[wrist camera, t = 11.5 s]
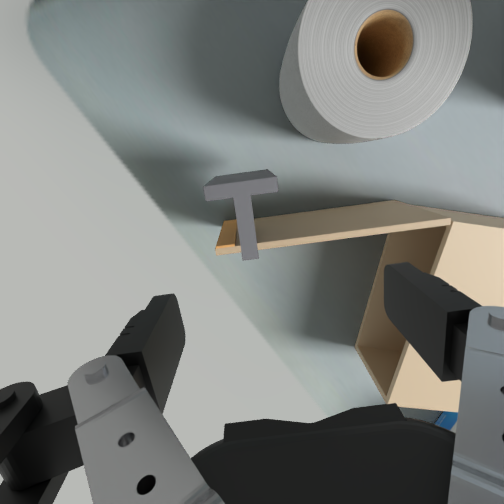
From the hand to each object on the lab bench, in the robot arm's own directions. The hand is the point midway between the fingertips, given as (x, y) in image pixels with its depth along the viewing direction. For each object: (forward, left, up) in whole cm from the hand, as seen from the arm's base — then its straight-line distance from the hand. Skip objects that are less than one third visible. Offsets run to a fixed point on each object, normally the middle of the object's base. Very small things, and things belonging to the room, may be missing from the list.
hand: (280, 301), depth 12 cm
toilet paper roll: (-13, +6, -25) cm, 29 cm away
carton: (+8, +24, -24) cm, 35 cm away
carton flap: (-2, +5, -24) cm, 25 cm away
